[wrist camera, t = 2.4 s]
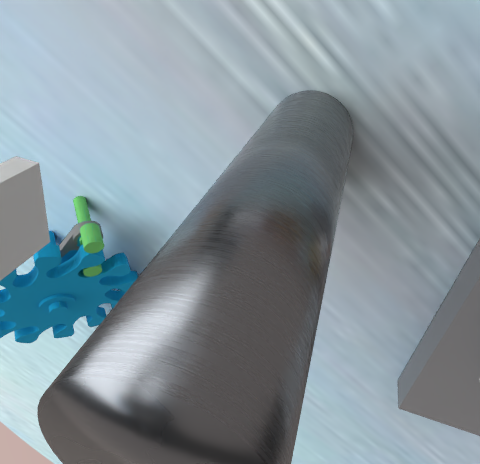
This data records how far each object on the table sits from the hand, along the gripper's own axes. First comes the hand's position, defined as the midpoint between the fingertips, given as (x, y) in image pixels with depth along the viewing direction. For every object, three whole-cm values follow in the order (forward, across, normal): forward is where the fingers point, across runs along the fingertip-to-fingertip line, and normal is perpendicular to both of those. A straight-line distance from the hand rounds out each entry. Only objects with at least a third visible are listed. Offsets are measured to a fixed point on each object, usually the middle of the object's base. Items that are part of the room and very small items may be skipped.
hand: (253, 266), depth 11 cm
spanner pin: (+10, 0, 0) cm, 10 cm away
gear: (+11, -12, -11) cm, 20 cm away
